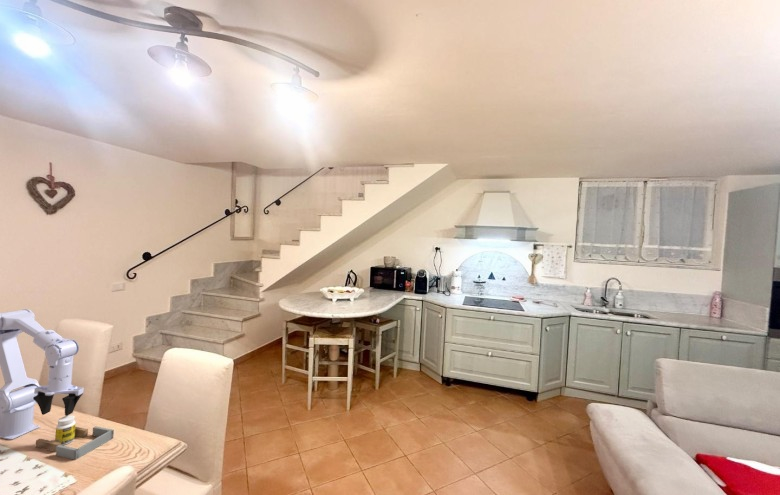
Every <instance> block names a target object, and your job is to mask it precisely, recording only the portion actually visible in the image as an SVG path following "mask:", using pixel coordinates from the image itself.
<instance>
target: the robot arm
mask: <svg viewBox="0 0 780 495" xmlns="http://www.w3.org/2000/svg"><path fill="white" fill-rule="evenodd" d="M21 333H25V334H26V335H29V336H30V337H31V338H33V339H32V340H33V341H32V342H33V344H34V345H36V346H37V347H39V348H40V349H42V351H44V355H45V358H46V362H47V365H48V366H49V368H48V379H47V381H48V382H47V385H40V383H39V382H38V380H37V379H35V378H31V377H28V376H27V375H28V374H27V371H26V368H25V365H24V361H23V357H22V354H21V349H20V346H19V343H18V339H17V338H18V336H19V334H21ZM79 346H80V345H79V343H78V342H77V340H75V339H73V338H71V339H69V338H64V337H63V336H62V335H60V334H59V333H57V332H56V331H55V330H54V329H46V328H44V327H43V326H42V325H41V324H40V323H39V322H38V321H37V320H36V315H35V313H34V312H33V311H32V310H31V309H29V308H24V309H20V310H12V311H7V312H0V369H1V373H2V377H3V381H4V385H3V386H2V387H1V388H0V439H1V438H2V439H5V440H9V441H10V440H11V441H12V440H14V439H16V438H18V437H21V436H23V435H25V434H27V433H29V432H31V431H34V430H37V429H39V428H40V427H41V425H39V424H34V417H35V415H34V414H35V405H38V408H39V410H40V413H41V415H42V416H43V415H46V414H48V413H50V412H51V410H52V402H53V399H54V396H55V395H66V396H64V397H62V401H63V405H64V415H65V416H69V415H71V414H73V413H74V410H75V408H76V405H77V403H78V402H79V400H80V399H81V397H82V396H83V394H84V392H85V391H84V390H85V387H80V386H76V385H73V384H72V382H73V381H72V380H73V366H74V357H75V355H77V354H78V353H79V350H80V347H79ZM65 416H64V417H65Z"/></svg>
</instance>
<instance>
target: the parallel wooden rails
mask: <svg viewBox="0 0 780 495" xmlns="http://www.w3.org/2000/svg"><path fill="white" fill-rule="evenodd" d="M88 433H89V429H88V428H83V427H78V426H75V437H82V438H86V437H88V436H89V434H88ZM58 445H61V443H59V442H55V440H54V441H53V440H49V439H44V438H37V439H35V448H37V449H43V450H46V451H50V452H51V451H52V452H55V453H56V447H57V446H58Z"/></svg>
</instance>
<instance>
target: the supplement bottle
mask: <svg viewBox="0 0 780 495" xmlns="http://www.w3.org/2000/svg"><path fill="white" fill-rule="evenodd" d="M76 424H77V423H76V420H75V415H71V414H70V415H68V416H62V417H61V418H59V419H58V421H57V425H56V427H55V434H54V436H55V437H54V442H59V443H61V445H62V446H67V445H69V444H70V443H72V442H73V441H74V440H75V437H76V436H75V427H76Z"/></svg>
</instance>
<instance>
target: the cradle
mask: <svg viewBox="0 0 780 495" xmlns="http://www.w3.org/2000/svg"><path fill="white" fill-rule="evenodd" d="M114 432H115V431H114V429H111V428H106V427H101V426H97V425H96V426H93V427H92V435H91V436H92V437H93V436H94V437H96V438H94V439H92V440H91V441H88V442H87V443H85V444H83V445H82V446H80V447H78V448H76V447H71V446H67V445H58V446H57V447H56V452H55V456H56V457H62V458H66V459H70V460H75V461H76V460H78V459H80V458H81V457H83V456H85V455H86V454H88V453H90V452H92V451H93V450H95V449H97V448H99V447H100V446H102V445H103V444H105V443H107V442H109V441H111V440H112V439H114Z"/></svg>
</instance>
